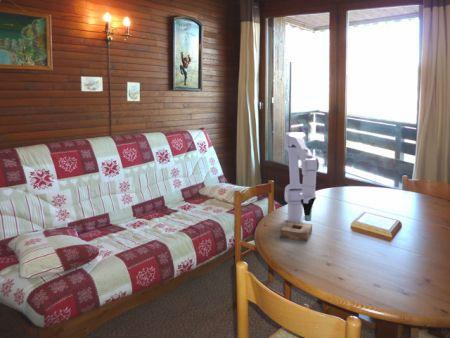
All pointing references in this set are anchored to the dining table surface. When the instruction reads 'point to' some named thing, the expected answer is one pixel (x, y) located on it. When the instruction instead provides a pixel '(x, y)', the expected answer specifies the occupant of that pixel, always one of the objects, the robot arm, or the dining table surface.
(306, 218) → the peg
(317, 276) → the dining table surface
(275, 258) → the dining table surface
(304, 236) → the socket block
